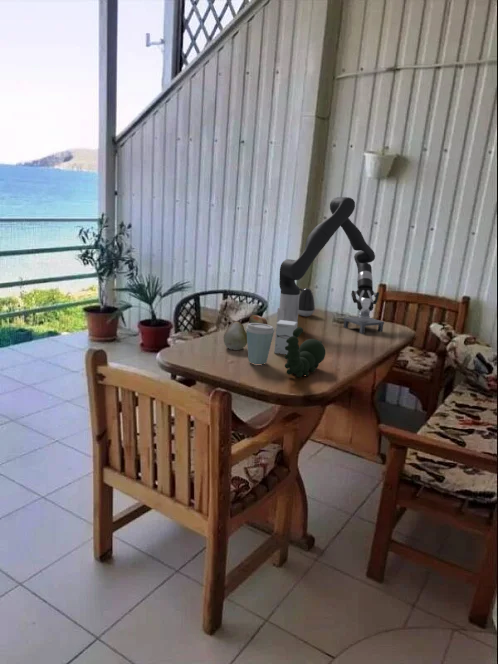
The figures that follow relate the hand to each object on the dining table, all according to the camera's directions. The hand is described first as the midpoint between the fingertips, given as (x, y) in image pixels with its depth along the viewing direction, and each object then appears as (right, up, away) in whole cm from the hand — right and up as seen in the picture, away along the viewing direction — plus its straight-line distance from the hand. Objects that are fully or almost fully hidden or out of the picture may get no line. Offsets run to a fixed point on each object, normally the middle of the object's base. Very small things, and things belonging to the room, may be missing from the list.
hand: (365, 309), depth 249 cm
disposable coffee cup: (-54, -23, -60) cm, 84 cm away
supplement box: (-43, -20, -43) cm, 64 cm away
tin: (-53, -12, -16) cm, 57 cm away
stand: (0, -10, +4) cm, 11 cm away
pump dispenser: (-27, -2, +31) cm, 41 cm away
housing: (0, -4, +3) cm, 5 cm away
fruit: (-63, -18, -43) cm, 78 cm away
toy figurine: (-38, -26, -67) cm, 81 cm away
